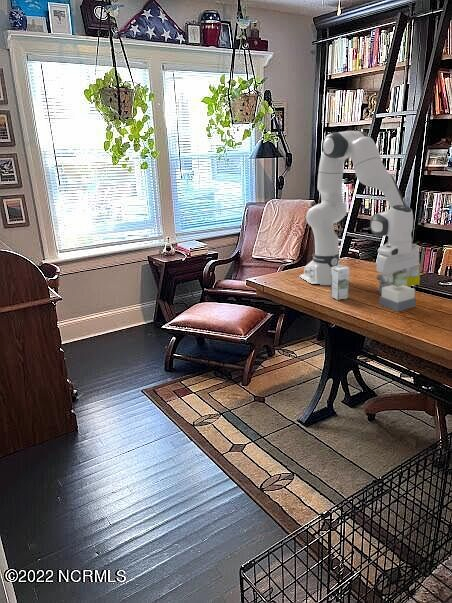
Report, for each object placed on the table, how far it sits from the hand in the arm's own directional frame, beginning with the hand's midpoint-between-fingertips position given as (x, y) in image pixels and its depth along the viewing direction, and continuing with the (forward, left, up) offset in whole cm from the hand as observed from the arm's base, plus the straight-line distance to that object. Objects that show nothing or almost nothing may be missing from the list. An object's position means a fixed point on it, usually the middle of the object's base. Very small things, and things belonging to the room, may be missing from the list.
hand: (397, 280), depth 184 cm
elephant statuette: (-16, +10, -11) cm, 22 cm away
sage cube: (0, 0, -2) cm, 2 cm away
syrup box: (-21, -12, -11) cm, 27 cm away
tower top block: (0, +1, -8) cm, 8 cm away
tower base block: (0, 0, -12) cm, 12 cm away
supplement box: (-14, +24, -11) cm, 30 cm away
